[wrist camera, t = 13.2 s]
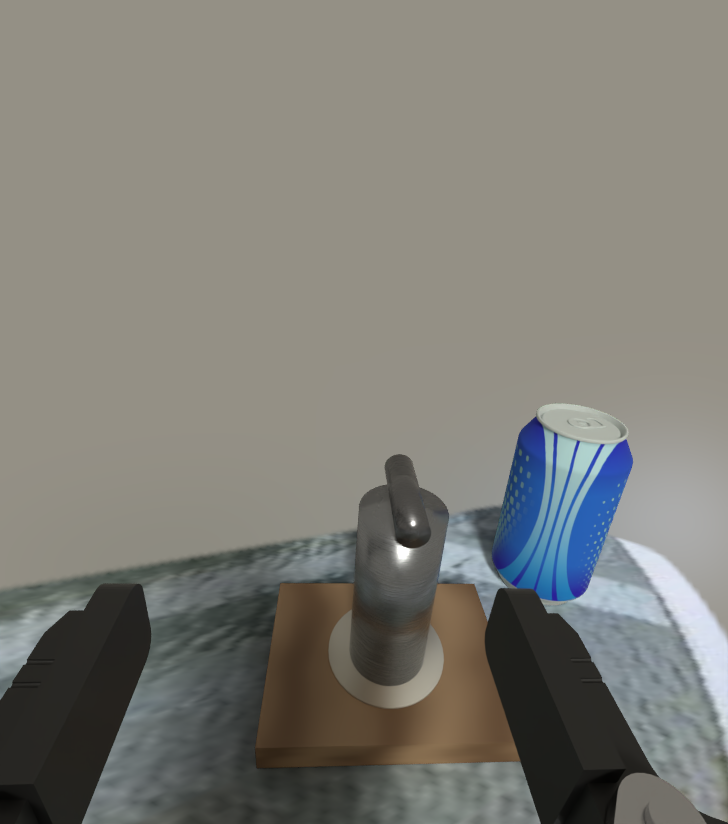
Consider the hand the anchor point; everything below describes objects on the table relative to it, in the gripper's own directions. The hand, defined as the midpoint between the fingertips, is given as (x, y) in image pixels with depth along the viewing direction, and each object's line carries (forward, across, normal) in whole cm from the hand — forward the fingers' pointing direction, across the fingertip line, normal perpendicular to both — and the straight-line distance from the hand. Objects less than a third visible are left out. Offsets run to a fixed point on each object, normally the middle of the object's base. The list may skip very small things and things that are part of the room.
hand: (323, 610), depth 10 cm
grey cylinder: (+13, -5, +20) cm, 24 cm away
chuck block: (+13, -5, +22) cm, 26 cm away
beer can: (+22, -20, +22) cm, 37 cm away
